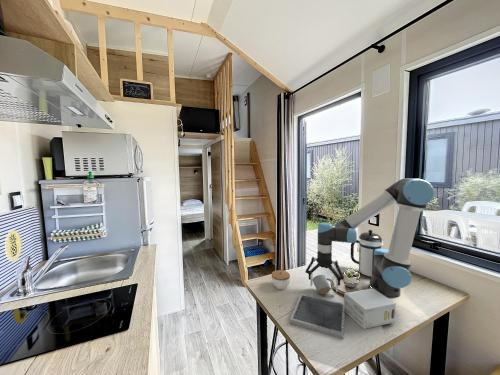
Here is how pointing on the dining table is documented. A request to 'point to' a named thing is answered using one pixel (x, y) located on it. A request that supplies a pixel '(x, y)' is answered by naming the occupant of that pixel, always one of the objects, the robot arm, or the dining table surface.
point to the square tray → (319, 315)
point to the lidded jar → (280, 279)
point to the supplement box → (369, 308)
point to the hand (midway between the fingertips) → (323, 287)
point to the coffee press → (366, 251)
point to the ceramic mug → (322, 284)
